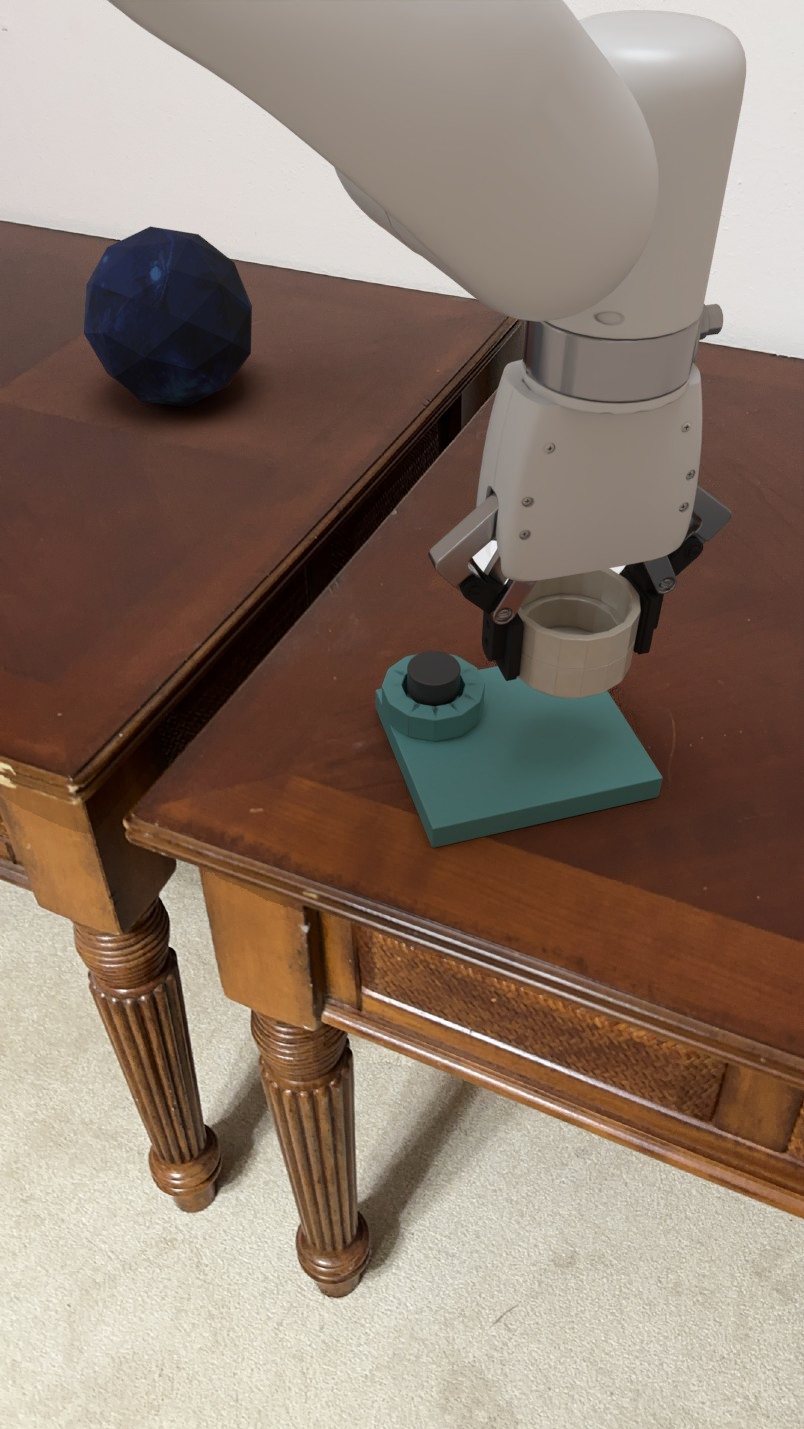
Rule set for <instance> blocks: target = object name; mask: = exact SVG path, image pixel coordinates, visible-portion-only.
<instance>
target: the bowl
mask: <svg viewBox="0 0 804 1429" xmlns="http://www.w3.org/2000/svg"><path fill="white" fill-rule="evenodd" d="M640 612H641V608H640V596H639V594H638V592H637V591H636V590H635V588H634V587H633V586H632V584H631V583H630V582H629V581H628V580H627V579H626V578H624V577H623V576H622V574H620V573H619V574H618V573H616V572H615V571H613V570H611V569H609V568H608V569H603V570H597V571H592V572H586V573H580V574H575V575H569V576H563V577H557V578H551V579H544V580H538V581H537V582H536V583H535V585H534V586H533V588H532V590H531V591H530V593H529V594H528V596H527V598H526V599H525V601H524V602H523V604H522V605H521V607H520V609H519V610H518V614H519V616H520V617H521V619H522V621H523V624H524V634H523V644H522V654H521V665H520V675H519V676H517V677H518V678H519V679H520V680H522V681H523V682H524V683H526V684H527V685H528V686H530V687H531V688H533V689H535V690H537V691H539V692H542V693H544V694H547V695H551V696H555V697H561V698H583V697H588V696H592V695H596V694H601V693H603V692H606V691H609V690H610V689H613V688H614V687H615V686H617V685H619V684H621V682H622V681H623V680H624V678H625V677H626V676H627V673H629V672H628V671H629V670H630V668H631V666H632V665H631V664H632V659H633V654H634V651H633V649H634V644H635V638H636V633H637V628H638V622H639V617H640Z"/></svg>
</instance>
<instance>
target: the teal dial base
mask: <svg viewBox="0 0 804 1429" xmlns="http://www.w3.org/2000/svg"><path fill="white" fill-rule="evenodd" d="M417 654H418V653H417ZM417 654H411V655H407V656H404V657H403V658H401V659H400V660H398V661H397V662H395V663H394V664H392V665H391V666H390V667H388V668H387V671H386V674H385V676H384V678H383V681H382V684H381V688H377V689H376V690H375V711H376V713H377V715H378V717H379V718H378V719H379V721H380V723H381V725H382V728H383V730H384V732H385V735H386V737H387V739H388V742H389V745H390V747H391V750H392V752H393V755H394V757H395V759H396V762H397V765H398V767H399V769H400V772H401V775H402V777H403V779H404V782H405V784H406V787H407V790H408V792H409V794H410V796H411V799H412V802H413V804H414V807H415V809H416V812H417V814H418V816H419V819H420V822H421V824H422V827H423V830H424V831H425V834H426V836H427V839H428V842H429V844H430V846H431V848H432V849H434V848H438V847H443V846H447V845H453V844H456V843H461V842H465V841H469V840H474V839H479V838H483V837H487V836H492V835H497V834H500V833H501V834H502V833H505V832H509V831H515V830H519V829H523V828H527V827H532V826H536V825H541V824H544V823H549V822H553V821H559V820H563V819H567V818H568V819H569V818H572V817H577V816H580V815H585V814H589V813H594V812H598V811H603V810H607V809H611V808H617V807H620V806H624V805H629V804H634V803H638V802H642V801H647V800H651V799H656V798H659V796H660V791H661V787H662V783H663V779H664V778H663V775H662V774H661V772H660V771H659V769H658V768H657V766H656V764H655V763H654V761H653V760H652V758H651V756H649V754H648V752H647V750H646V749H645V747H644V745H643V744H642V743H641V741H640V739H639V738H638V736H637V735H636V733H635V731H634V730H633V728H632V727H631V725H630V724H629V722H628V721H627V719H626V717H625V716H624V714H623V713H622V711H621V710H620V708H619V707H618V704H616V702H615V700H614V699H613V697H612V696H611V694H610V693H609V690H607V691H606V692H603V693H601V694H596V695H592V696H588V697H583V698H561V697H555V696H551V695H547V694H544V693H542V692H539V691H537V690H535V689H533V688H531V687H530V686H528V685H527V684H526V683H524V682H523V681H522V680H520V679H519V678H518V677H517V679H515V680H510V681H506V680H505V679H504V677H503V675H502V673H501V671H500V669H499V667H498V666H497V665H496V666H492V667H488V668H487V667H486V668H483V669H482V668H481V669H478V668H477V667H476V666H475V665H473V664H472V663H470V662H469V661H467V660H465V659H464V658H462V657H460V656H458V655H456V654H450V655H451V656H453V657H454V658H455V659H456V660H457V661H458V662H459V664H460V668H461V672H460V690H459V694H458V696H457V697H456V698H455V699H454V700H453V701H452V702H450V703H448V704H445V705H440V706H428V705H422V704H420V703H418V702H416V701H414V700H413V699H412V698H411V697H410V695H409V694H408V691H407V666H408V663H409V661H410V660H411V659H412V658H413V657H414V656H416V655H417Z"/></svg>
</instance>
